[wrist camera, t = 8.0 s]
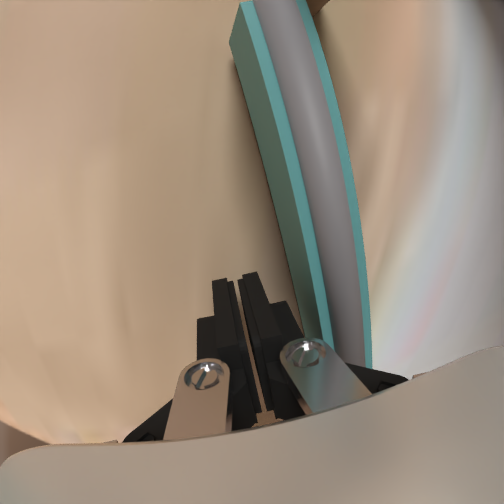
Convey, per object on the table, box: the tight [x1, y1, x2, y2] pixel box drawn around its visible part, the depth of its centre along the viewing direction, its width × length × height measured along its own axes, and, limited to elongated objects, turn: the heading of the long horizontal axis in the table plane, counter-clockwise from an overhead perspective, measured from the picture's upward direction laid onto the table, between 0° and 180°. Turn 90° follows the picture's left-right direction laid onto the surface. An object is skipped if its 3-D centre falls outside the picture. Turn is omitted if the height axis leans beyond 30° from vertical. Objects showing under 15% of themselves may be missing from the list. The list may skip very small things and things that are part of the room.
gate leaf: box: [229, 0, 372, 369], centre depth 10 cm, size 14×2×4 cm, turn 15°
